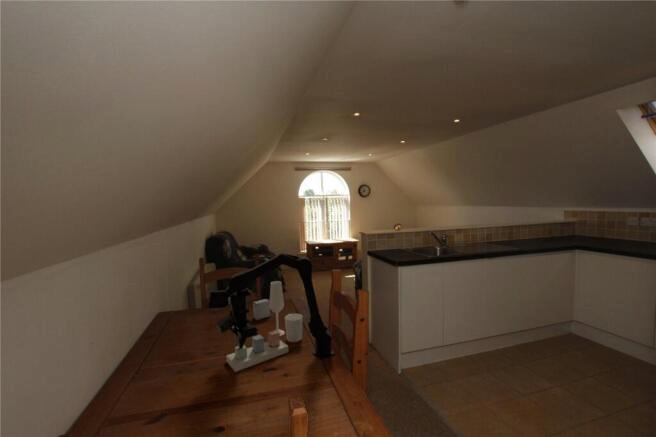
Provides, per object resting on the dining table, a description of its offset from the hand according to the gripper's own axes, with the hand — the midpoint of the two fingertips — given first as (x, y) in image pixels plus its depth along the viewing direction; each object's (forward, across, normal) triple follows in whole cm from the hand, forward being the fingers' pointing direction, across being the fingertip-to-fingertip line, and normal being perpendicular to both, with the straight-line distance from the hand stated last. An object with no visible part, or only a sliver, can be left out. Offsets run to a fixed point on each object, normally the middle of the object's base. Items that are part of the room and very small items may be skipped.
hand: (240, 347), depth 111 cm
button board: (+6, 0, +7) cm, 9 cm away
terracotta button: (+3, 0, +14) cm, 14 cm away
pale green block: (+5, 0, 0) cm, 5 cm away
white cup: (+6, -4, +26) cm, 27 cm away
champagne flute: (+6, -14, +23) cm, 28 cm away
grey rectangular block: (+3, 0, +7) cm, 8 cm away
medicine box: (+6, -37, +26) cm, 46 cm away
